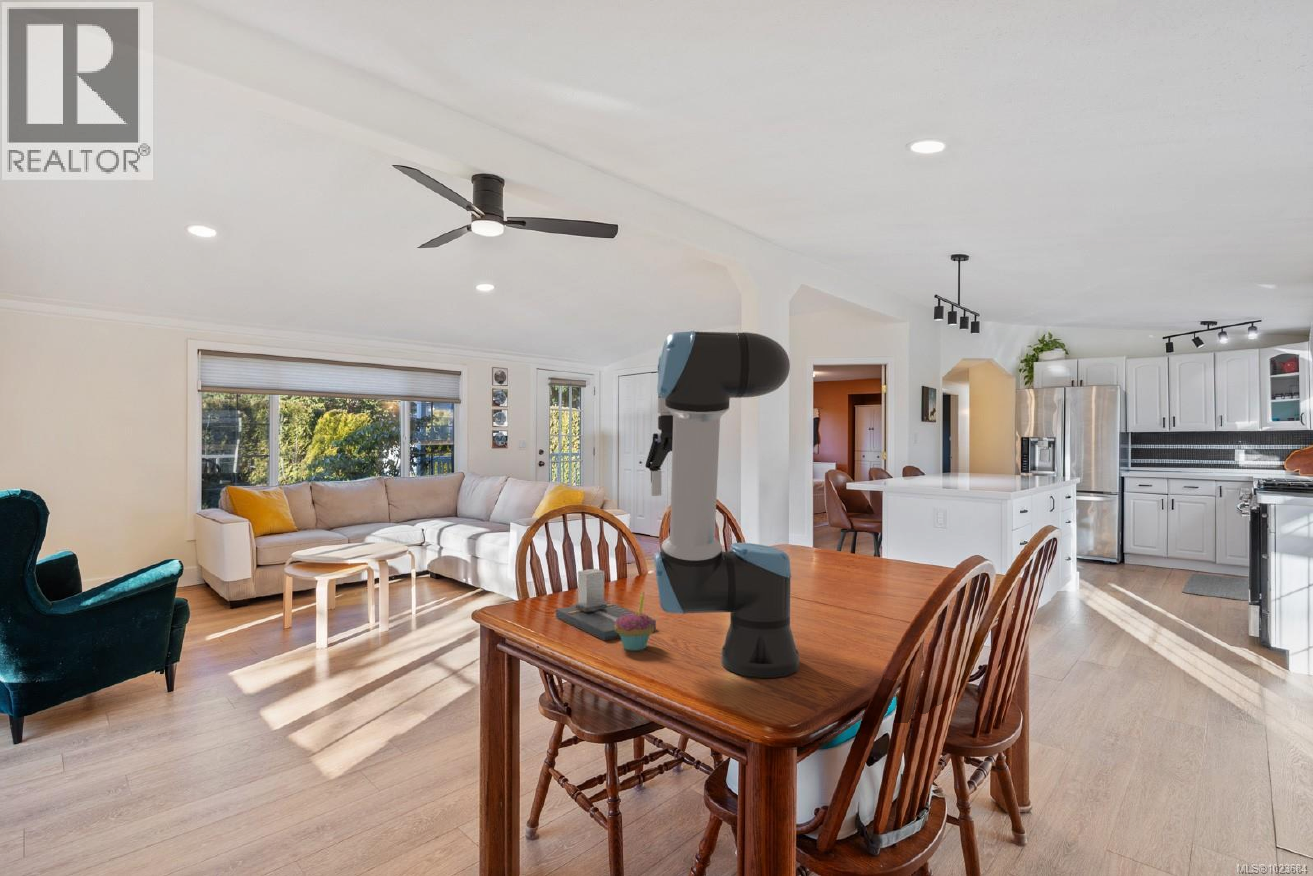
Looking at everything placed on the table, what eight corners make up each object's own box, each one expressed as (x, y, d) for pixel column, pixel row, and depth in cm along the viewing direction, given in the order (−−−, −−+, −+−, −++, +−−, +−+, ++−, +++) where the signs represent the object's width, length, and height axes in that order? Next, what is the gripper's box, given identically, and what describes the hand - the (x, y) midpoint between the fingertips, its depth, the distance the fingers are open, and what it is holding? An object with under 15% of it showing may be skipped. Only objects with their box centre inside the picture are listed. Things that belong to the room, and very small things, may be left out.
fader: (607, 608, 157) (607, 571, 157) (585, 612, 153) (585, 574, 153) (596, 603, 161) (596, 567, 161) (575, 607, 157) (575, 570, 157)
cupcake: (659, 642, 138) (659, 587, 138) (648, 655, 130) (648, 597, 130) (621, 639, 141) (621, 584, 141) (608, 651, 133) (608, 594, 132)
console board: (655, 629, 148) (655, 619, 148) (604, 641, 139) (604, 631, 139) (604, 607, 165) (604, 599, 165) (556, 617, 157) (556, 608, 157)
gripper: (716, 414, 155) (716, 501, 156) (654, 415, 175) (654, 493, 175) (693, 413, 151) (693, 503, 151) (632, 415, 171) (632, 494, 171)
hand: (672, 498), depth 163 cm, fingers open, 13 cm apart
